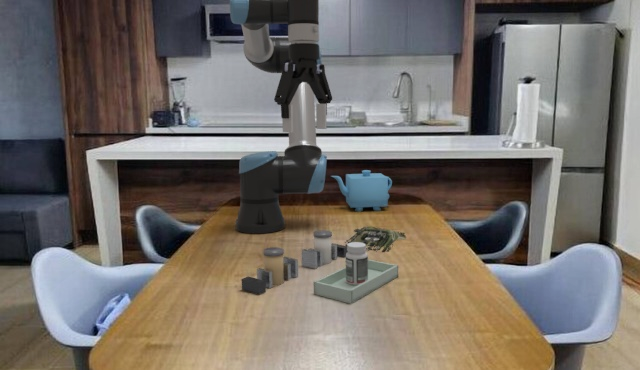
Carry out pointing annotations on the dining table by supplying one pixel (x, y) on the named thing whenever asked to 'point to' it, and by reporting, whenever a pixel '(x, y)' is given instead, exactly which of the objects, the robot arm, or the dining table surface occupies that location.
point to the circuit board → (376, 237)
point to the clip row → (290, 268)
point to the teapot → (365, 190)
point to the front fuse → (274, 264)
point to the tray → (348, 293)
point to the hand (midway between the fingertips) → (305, 130)
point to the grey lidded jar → (323, 244)
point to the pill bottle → (356, 263)
